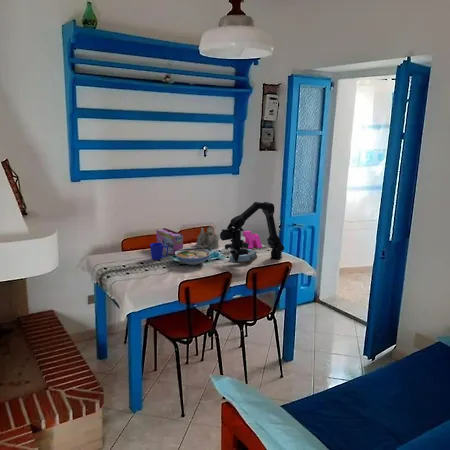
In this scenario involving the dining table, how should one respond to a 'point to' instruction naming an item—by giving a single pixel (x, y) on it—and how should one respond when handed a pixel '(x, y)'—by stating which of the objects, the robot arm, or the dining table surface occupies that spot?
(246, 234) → the magenta blocky figure
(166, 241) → the gum box
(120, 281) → the dining table surface
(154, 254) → the mug
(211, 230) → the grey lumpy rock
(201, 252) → the ramen bowl
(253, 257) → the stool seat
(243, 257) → the folding leg
